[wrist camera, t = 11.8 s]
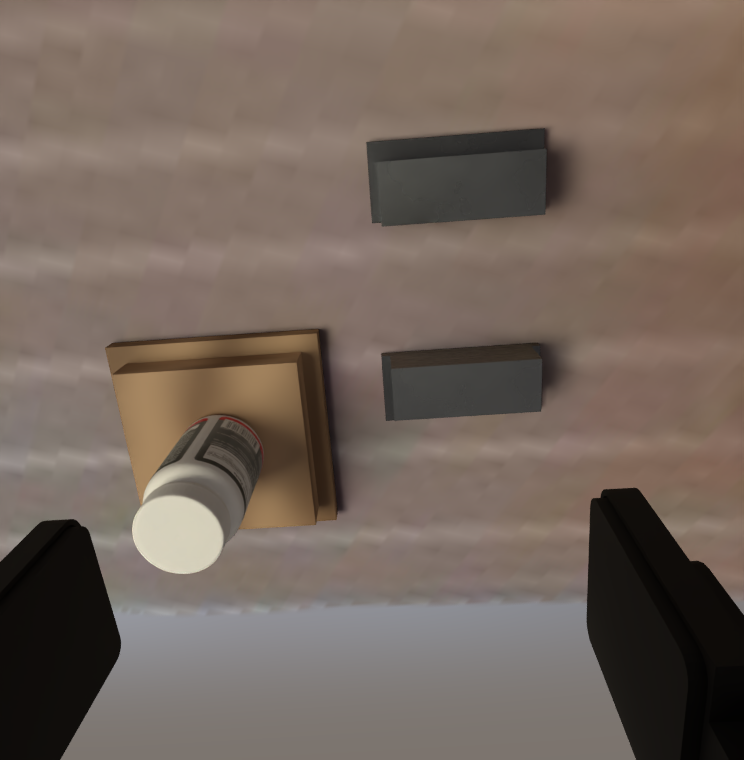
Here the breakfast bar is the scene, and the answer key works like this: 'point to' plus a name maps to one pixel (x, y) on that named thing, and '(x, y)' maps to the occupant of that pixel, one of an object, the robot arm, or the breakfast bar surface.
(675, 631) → the robot arm
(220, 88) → the breakfast bar surface
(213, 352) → the tan square pedestal
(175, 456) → the pill bottle
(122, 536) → the breakfast bar surface
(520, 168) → the clamp jaws
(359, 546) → the breakfast bar surface
